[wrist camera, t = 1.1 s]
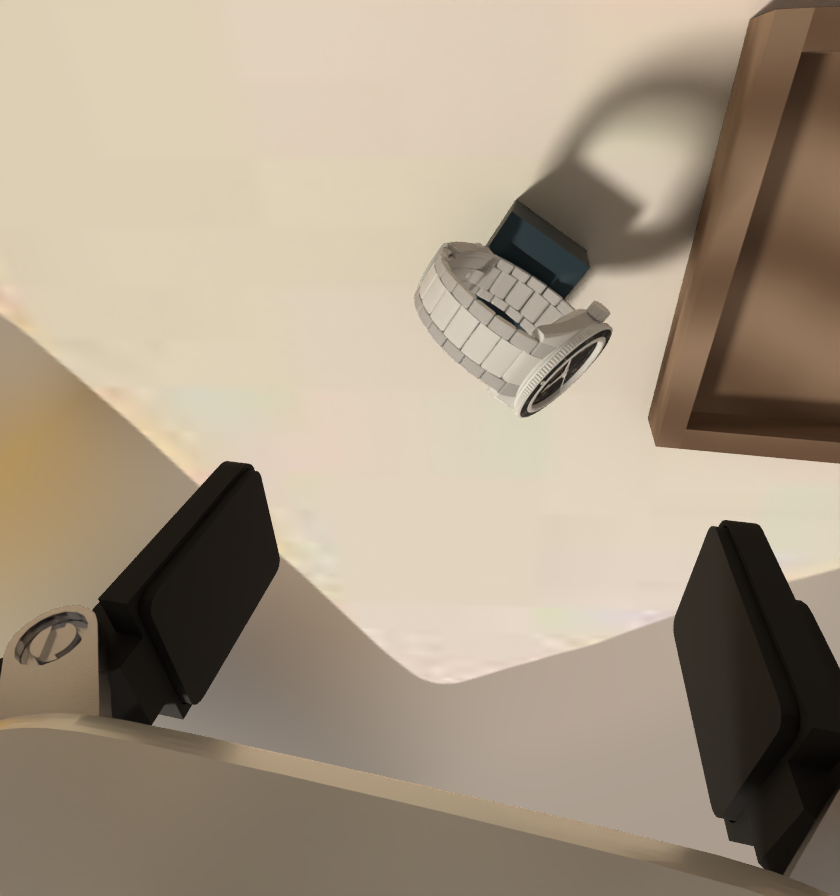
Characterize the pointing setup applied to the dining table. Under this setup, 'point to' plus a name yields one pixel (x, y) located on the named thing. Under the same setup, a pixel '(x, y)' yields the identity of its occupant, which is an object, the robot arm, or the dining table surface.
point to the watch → (514, 310)
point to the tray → (765, 260)
